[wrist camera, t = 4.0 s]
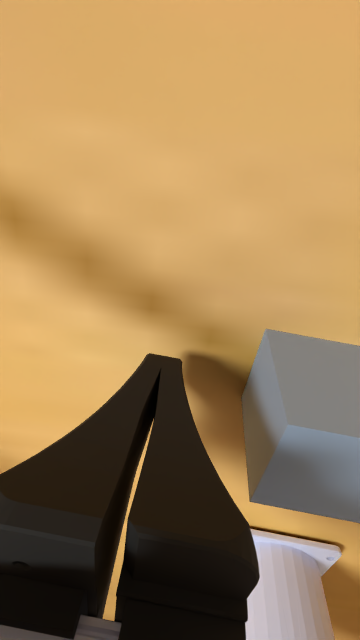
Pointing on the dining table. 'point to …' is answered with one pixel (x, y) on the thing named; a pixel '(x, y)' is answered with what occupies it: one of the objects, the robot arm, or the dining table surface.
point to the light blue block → (304, 425)
